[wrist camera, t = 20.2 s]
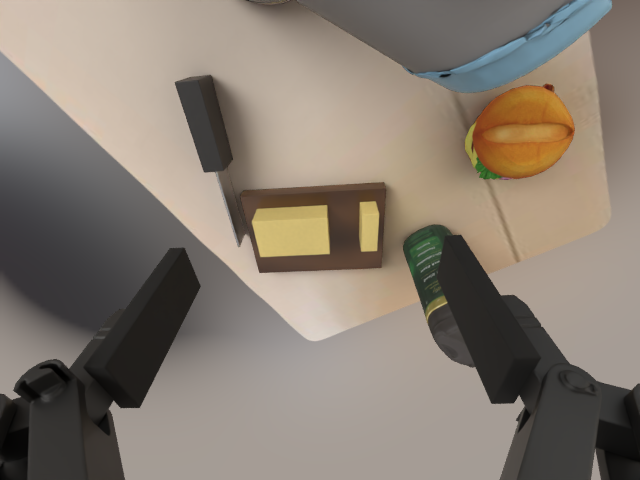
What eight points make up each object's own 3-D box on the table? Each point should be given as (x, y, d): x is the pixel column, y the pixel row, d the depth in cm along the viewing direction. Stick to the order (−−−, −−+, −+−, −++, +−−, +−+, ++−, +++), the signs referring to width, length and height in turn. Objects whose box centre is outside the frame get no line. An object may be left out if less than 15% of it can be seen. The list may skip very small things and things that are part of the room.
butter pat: (359, 201, 41) (362, 214, 38) (375, 201, 41) (379, 213, 38) (359, 237, 44) (361, 251, 41) (373, 237, 44) (377, 251, 41)
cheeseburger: (479, 189, 41) (506, 212, 32) (441, 123, 39) (459, 129, 30) (558, 145, 37) (614, 158, 29) (522, 69, 35) (569, 57, 26)
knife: (189, 77, 34) (174, 82, 31) (211, 74, 34) (198, 79, 31) (236, 234, 47) (229, 250, 43) (252, 233, 47) (246, 249, 43)
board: (243, 190, 42) (239, 196, 41) (383, 182, 41) (386, 188, 40) (261, 265, 51) (259, 273, 49) (379, 260, 49) (381, 268, 48)
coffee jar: (393, 240, 47) (424, 340, 32) (441, 214, 44) (500, 311, 29) (421, 277, 51) (460, 380, 36) (466, 256, 48) (528, 358, 33)
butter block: (256, 208, 42) (251, 221, 39) (327, 204, 41) (327, 217, 38) (264, 243, 45) (260, 257, 42) (329, 239, 45) (329, 254, 42)
